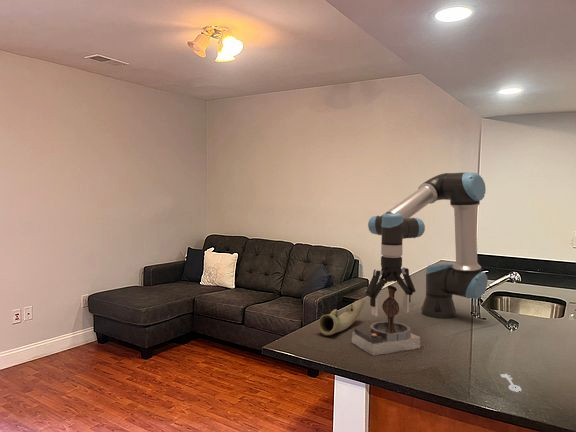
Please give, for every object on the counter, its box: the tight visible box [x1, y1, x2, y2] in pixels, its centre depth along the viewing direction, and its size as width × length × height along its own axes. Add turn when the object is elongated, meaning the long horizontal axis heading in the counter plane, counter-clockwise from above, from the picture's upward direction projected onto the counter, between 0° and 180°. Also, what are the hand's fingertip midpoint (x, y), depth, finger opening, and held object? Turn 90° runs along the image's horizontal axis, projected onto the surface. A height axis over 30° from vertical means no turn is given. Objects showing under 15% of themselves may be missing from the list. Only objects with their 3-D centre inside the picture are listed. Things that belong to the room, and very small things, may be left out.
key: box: [500, 373, 522, 393], centre depth 130 cm, size 12×1×3 cm
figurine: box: [381, 285, 400, 333], centre depth 162 cm, size 7×5×18 cm
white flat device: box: [351, 320, 421, 357], centre depth 161 cm, size 20×14×6 cm
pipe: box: [317, 299, 366, 336], centre depth 181 cm, size 28×8×10 cm, turn 146°
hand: (390, 313), depth 161 cm, fingers open, 13 cm apart
